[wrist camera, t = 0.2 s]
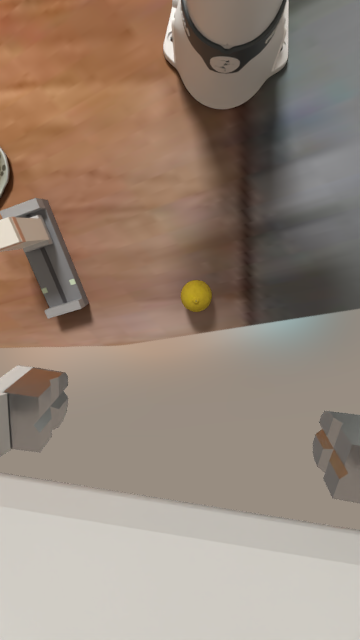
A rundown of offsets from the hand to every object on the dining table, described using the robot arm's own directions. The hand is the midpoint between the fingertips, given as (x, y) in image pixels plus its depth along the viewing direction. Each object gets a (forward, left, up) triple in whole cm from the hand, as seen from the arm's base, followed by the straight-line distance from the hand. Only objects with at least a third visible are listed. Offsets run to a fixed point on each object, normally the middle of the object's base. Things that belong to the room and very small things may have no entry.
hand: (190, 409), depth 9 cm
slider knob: (-1, -30, -45) cm, 54 cm away
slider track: (+3, -28, -48) cm, 55 cm away
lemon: (+6, 0, -48) cm, 49 cm away
